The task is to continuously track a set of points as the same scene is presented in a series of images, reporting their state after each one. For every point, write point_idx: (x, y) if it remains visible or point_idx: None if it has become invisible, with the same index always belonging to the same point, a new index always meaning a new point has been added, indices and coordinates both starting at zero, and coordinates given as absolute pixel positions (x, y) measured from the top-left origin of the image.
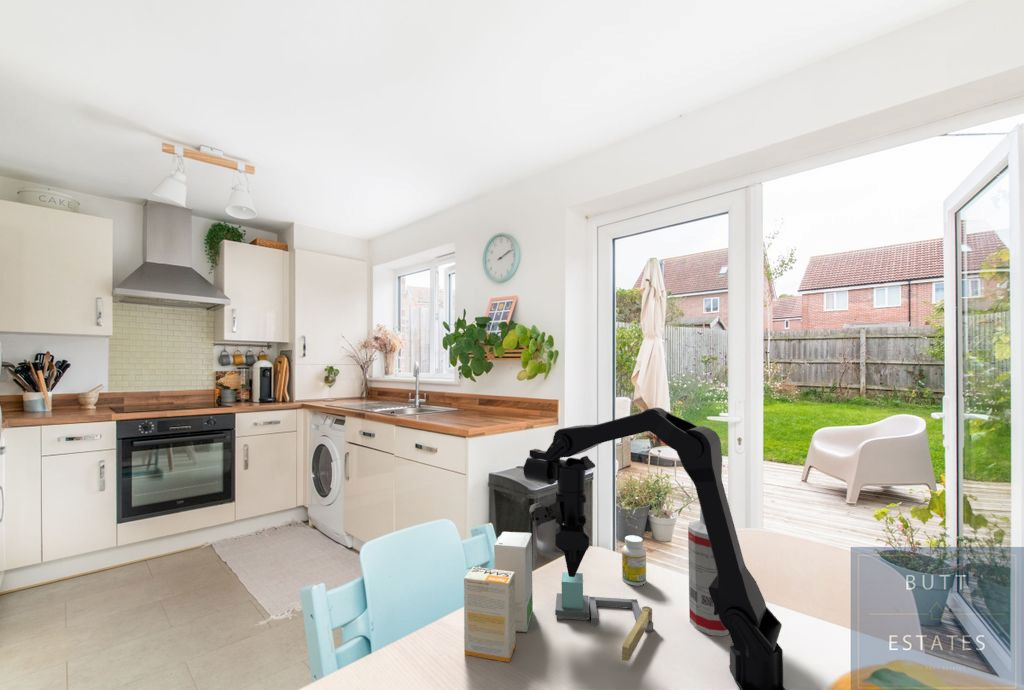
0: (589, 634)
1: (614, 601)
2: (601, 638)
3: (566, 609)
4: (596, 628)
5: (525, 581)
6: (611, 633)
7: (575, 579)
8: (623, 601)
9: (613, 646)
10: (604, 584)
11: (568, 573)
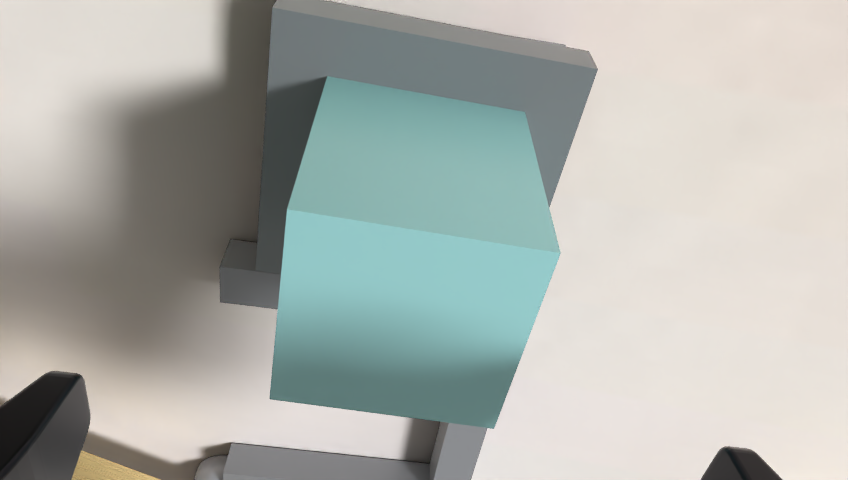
0: (104, 203)
1: (446, 423)
2: (76, 262)
3: (292, 112)
4: (187, 257)
5: None
6: (147, 322)
7: (352, 352)
8: (440, 462)
9: (10, 305)
10: (746, 402)
11: (11, 400)
